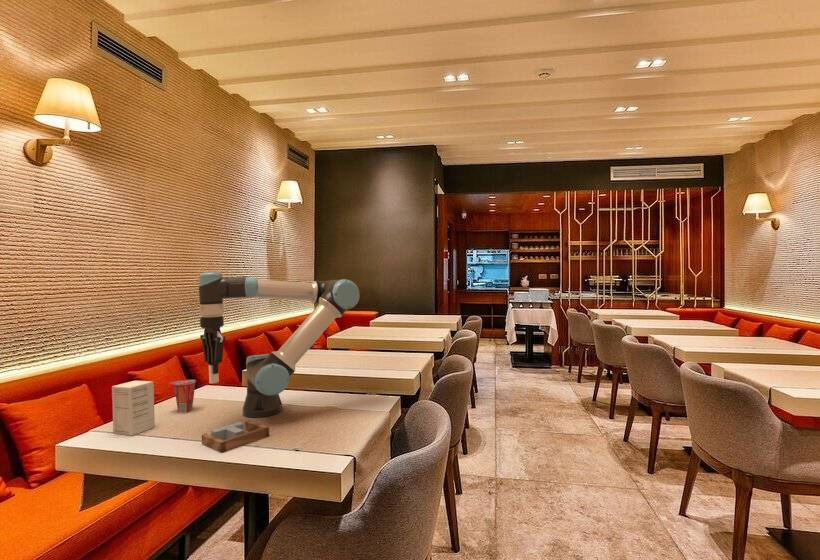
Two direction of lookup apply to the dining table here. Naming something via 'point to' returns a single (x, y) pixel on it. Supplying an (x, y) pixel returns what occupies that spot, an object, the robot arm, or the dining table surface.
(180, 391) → the cup
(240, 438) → the dock
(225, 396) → the dining table surface
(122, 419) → the supplement box
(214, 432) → the t block
